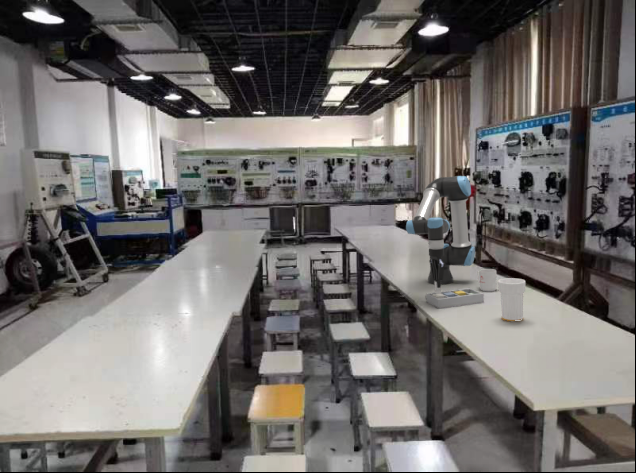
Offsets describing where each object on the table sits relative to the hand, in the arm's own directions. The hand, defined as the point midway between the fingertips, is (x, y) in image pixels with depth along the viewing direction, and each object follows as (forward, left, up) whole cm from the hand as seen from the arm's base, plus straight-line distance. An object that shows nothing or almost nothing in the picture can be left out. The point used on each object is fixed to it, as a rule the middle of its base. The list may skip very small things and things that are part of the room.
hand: (438, 293), depth 242 cm
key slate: (0, +6, -3) cm, 7 cm away
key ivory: (0, 0, -3) cm, 3 cm away
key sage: (0, +18, -5) cm, 19 cm away
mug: (-16, +37, -6) cm, 41 cm away
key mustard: (0, +12, -3) cm, 13 cm away
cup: (+36, +18, -6) cm, 41 cm away
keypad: (0, +9, -6) cm, 11 cm away
